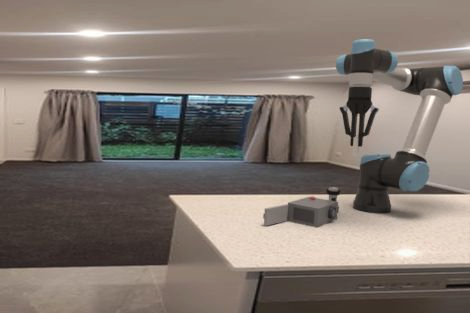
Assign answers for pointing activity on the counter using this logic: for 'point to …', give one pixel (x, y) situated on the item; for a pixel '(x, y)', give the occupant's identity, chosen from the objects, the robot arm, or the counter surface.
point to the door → (275, 214)
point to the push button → (333, 194)
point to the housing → (312, 211)
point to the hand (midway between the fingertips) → (355, 155)
